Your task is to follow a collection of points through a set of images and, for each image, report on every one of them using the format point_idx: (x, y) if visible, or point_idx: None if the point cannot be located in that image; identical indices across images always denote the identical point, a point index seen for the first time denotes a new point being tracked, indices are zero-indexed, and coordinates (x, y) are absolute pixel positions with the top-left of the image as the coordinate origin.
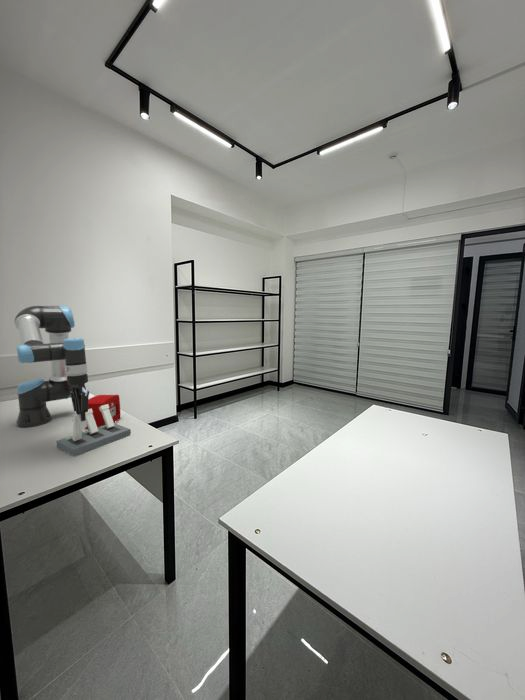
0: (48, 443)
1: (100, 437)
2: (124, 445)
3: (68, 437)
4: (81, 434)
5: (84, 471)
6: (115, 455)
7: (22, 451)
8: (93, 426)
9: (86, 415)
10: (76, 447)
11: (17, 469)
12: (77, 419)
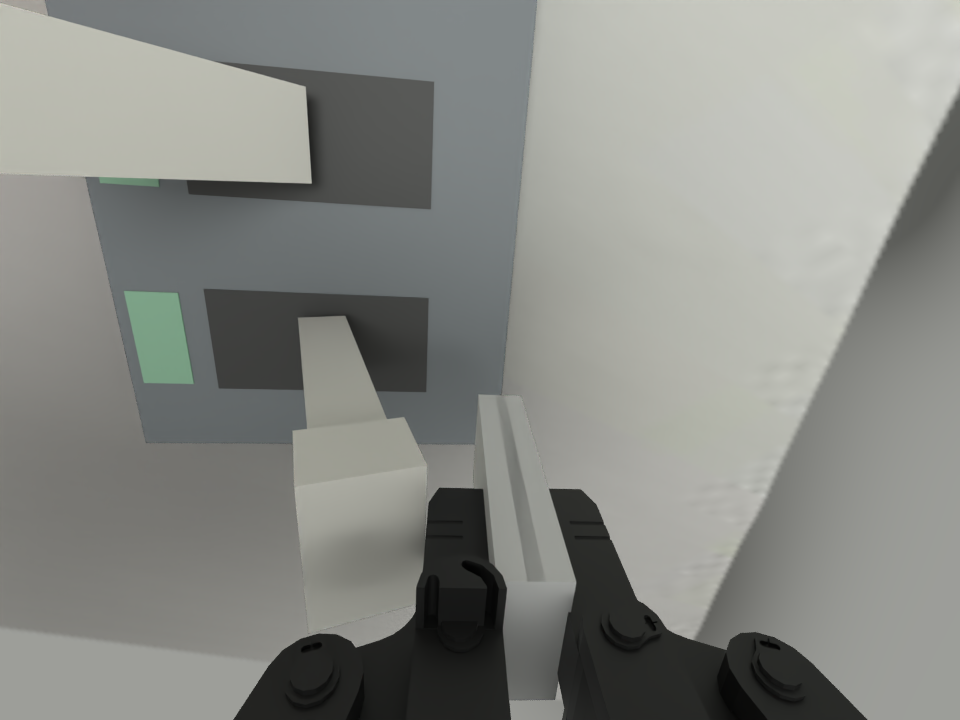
0: (24, 419)
1: (452, 157)
2: (704, 52)
3: (149, 349)
4: (353, 337)
5: (740, 463)
6: (772, 237)
7: (64, 567)
8: (236, 122)
9: None
10: (475, 411)
11: (361, 637)
12: (417, 554)
